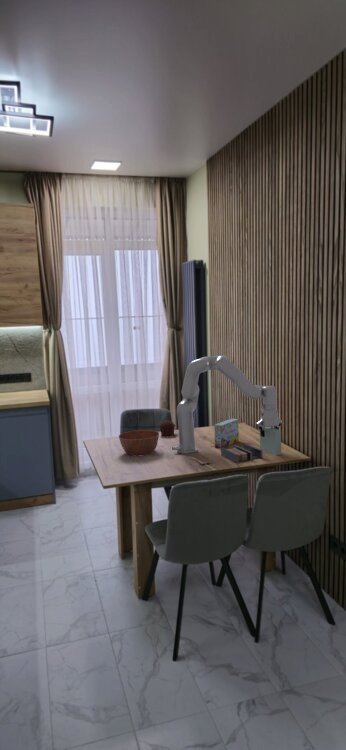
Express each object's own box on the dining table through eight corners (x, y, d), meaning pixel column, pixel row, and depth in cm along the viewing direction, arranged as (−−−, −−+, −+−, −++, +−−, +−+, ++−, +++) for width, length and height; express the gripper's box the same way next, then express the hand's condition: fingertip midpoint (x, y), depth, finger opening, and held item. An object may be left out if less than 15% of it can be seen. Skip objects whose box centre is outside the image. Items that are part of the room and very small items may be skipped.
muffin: (173, 437, 353) (172, 422, 351) (157, 437, 355) (157, 422, 354) (177, 433, 364) (176, 419, 363) (162, 432, 367) (161, 419, 365)
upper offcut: (238, 458, 285) (237, 455, 285) (225, 452, 298) (225, 449, 298) (247, 456, 288) (247, 453, 288) (234, 450, 301) (234, 447, 300)
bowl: (152, 445, 334) (151, 428, 333) (165, 454, 311) (164, 436, 309) (115, 450, 325) (114, 433, 324) (126, 460, 302) (125, 441, 301)
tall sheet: (275, 456, 294) (275, 431, 292) (260, 450, 309) (259, 426, 307) (281, 455, 296) (280, 430, 294) (265, 449, 311) (265, 425, 309)
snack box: (222, 449, 316) (221, 425, 314) (214, 448, 319) (213, 424, 318) (239, 441, 333) (238, 418, 331) (232, 440, 336) (231, 417, 334)
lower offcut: (238, 461, 286) (238, 458, 285) (225, 455, 298) (225, 452, 298) (247, 459, 288) (247, 456, 288) (234, 453, 301) (234, 450, 301)
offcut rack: (236, 464, 283) (236, 455, 283) (221, 456, 300) (220, 447, 299) (262, 459, 290) (262, 450, 289) (245, 452, 306) (245, 443, 305)
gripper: (260, 409, 292) (260, 438, 294) (285, 406, 299) (285, 434, 301) (253, 407, 299) (253, 436, 301) (278, 404, 306) (278, 432, 308)
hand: (269, 435), depth 301 cm, fingers open, 9 cm apart
